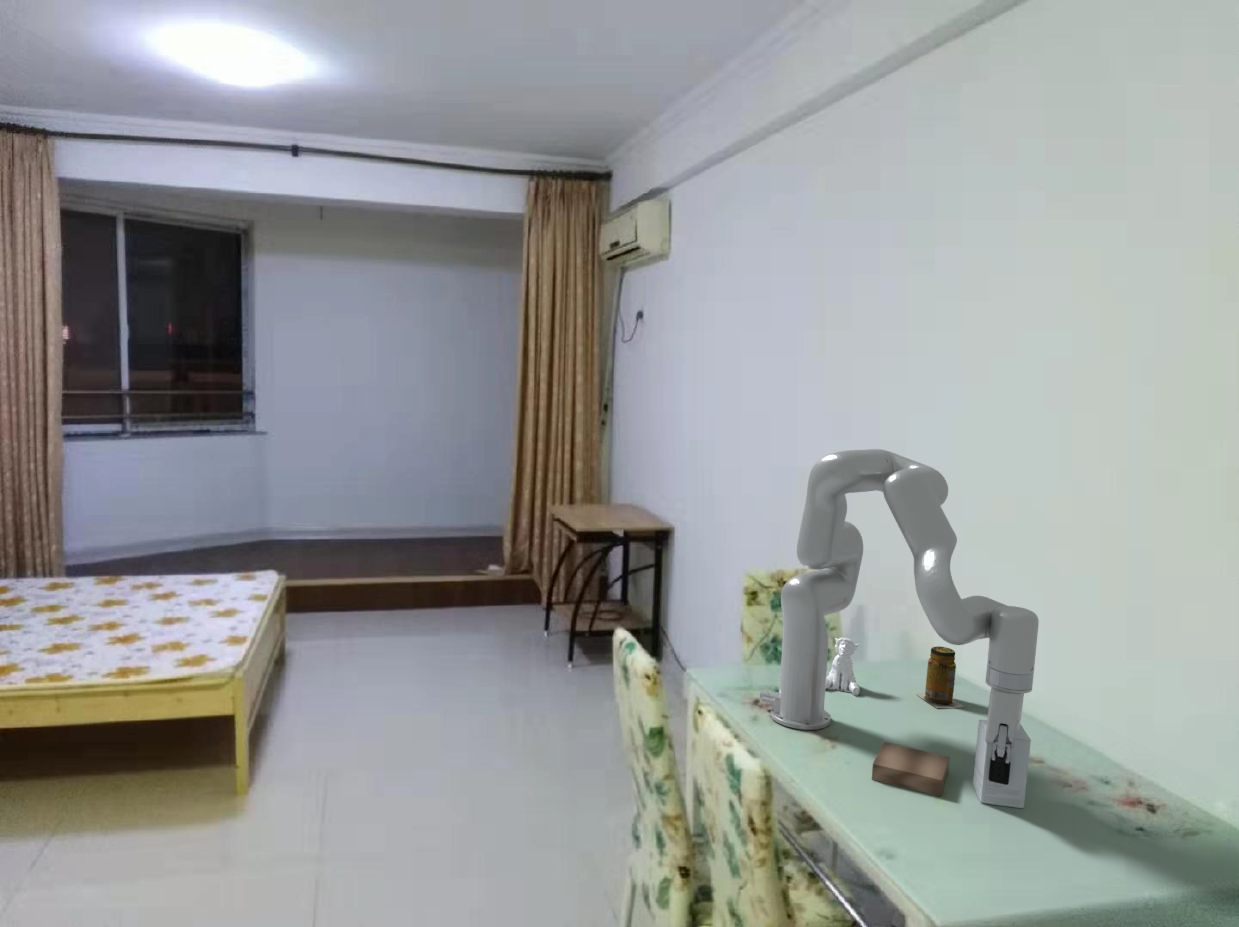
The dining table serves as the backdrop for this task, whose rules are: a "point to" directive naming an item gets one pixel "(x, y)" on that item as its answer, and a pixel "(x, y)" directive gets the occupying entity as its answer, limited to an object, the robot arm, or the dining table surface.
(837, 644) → the sitting furry creature
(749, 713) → the dining table surface
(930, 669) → the condiment
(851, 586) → the robot arm
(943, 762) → the walnut base
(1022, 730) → the supplement box
